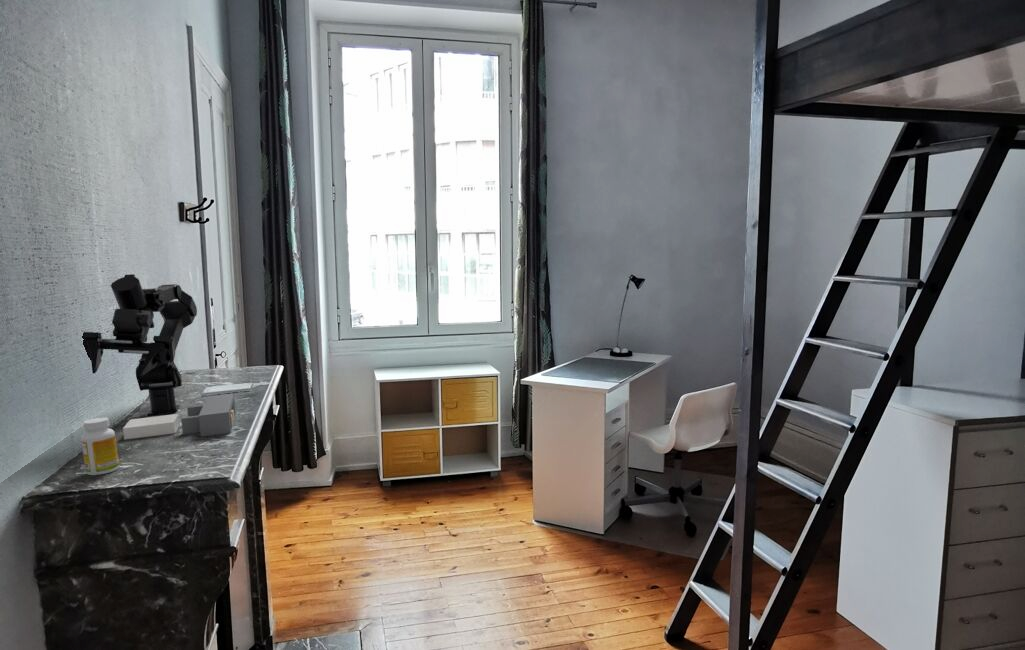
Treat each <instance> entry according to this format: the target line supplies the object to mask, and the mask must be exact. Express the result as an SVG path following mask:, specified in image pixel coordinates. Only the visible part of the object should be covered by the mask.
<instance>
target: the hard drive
mask: <svg viewBox="0 0 1025 650" xmlns="http://www.w3.org/2000/svg"><path fill="white" fill-rule="evenodd" d="M253 387H254V382H245V383H234V384H223V385H214V386H213V385H212V386H206V387H205V389H204V390H203V392H202V397H207V396H216V395H218V394H220V395H224V393H230V394H232V393H231V392H239V393H241V392H240V391H249V392H251V391H252V390H253ZM251 389H252V390H251Z"/></svg>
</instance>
